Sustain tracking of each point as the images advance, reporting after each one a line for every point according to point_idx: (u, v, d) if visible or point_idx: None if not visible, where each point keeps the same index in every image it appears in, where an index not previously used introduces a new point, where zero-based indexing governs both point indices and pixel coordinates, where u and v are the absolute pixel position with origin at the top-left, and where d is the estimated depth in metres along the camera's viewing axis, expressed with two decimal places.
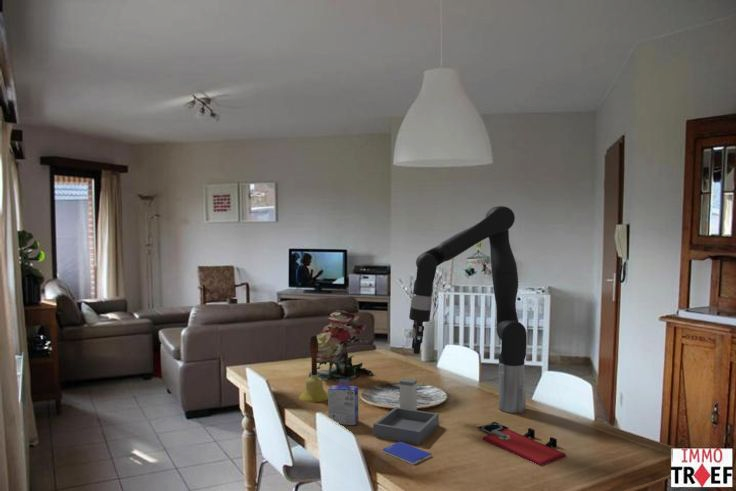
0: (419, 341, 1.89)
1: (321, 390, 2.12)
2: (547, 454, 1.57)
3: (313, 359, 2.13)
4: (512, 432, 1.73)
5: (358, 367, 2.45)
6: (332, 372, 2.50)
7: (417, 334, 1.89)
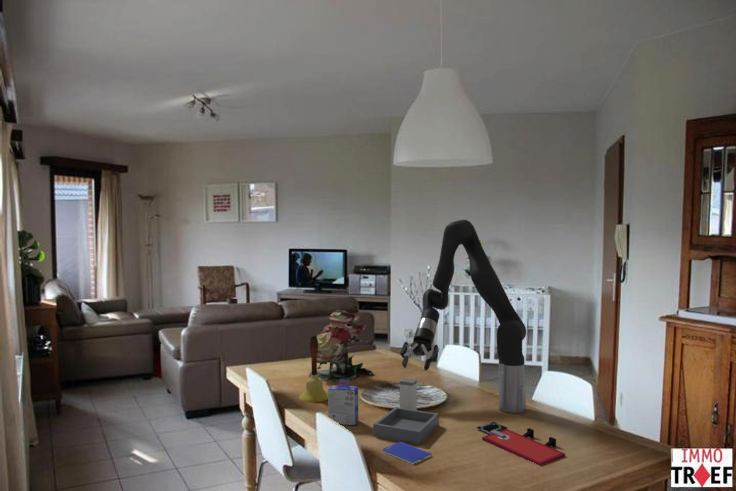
0: None
1: (321, 390, 2.12)
2: (547, 454, 1.57)
3: (313, 359, 2.13)
4: (511, 432, 1.73)
5: (358, 367, 2.45)
6: (332, 372, 2.50)
7: None
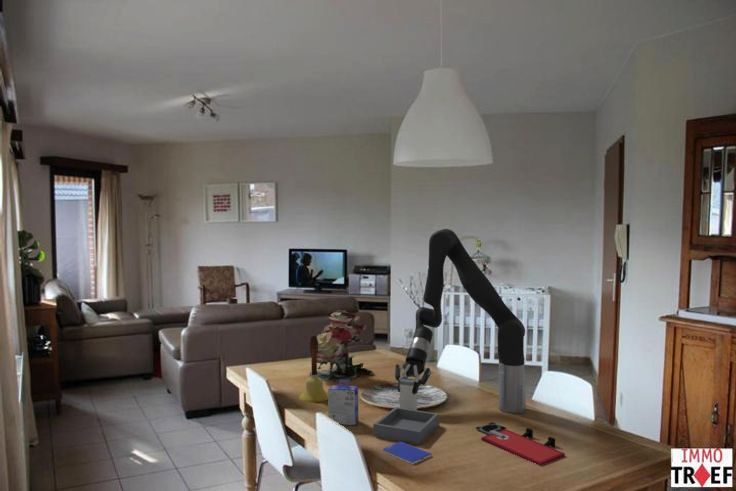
0: None
1: (321, 390, 2.12)
2: (546, 454, 1.57)
3: (313, 359, 2.13)
4: (510, 432, 1.73)
5: (359, 367, 2.45)
6: (333, 372, 2.50)
7: None
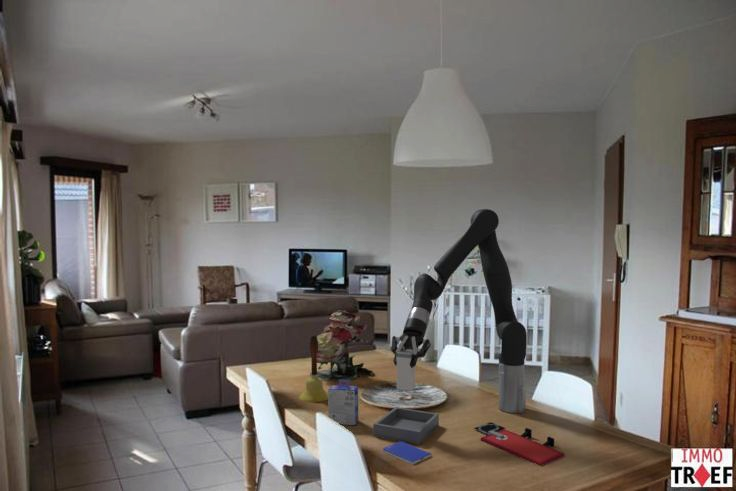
0: None
1: (321, 390, 2.12)
2: (546, 454, 1.57)
3: (313, 359, 2.13)
4: (509, 432, 1.73)
5: (359, 367, 2.45)
6: (333, 372, 2.50)
7: None
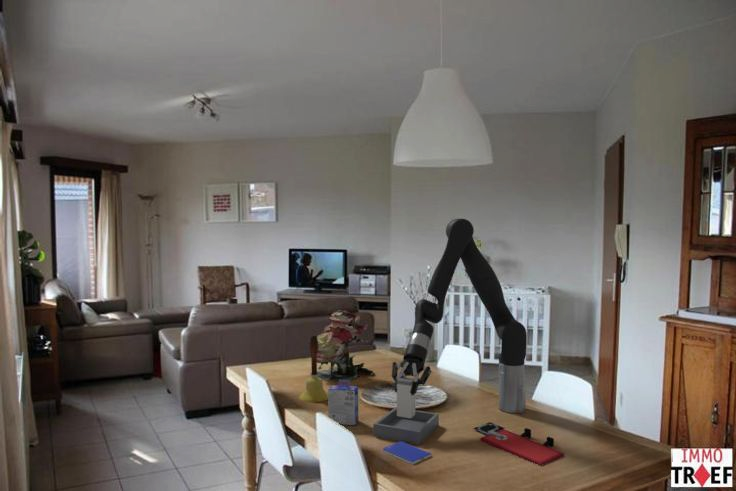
0: None
1: (321, 390, 2.12)
2: (546, 454, 1.57)
3: (313, 359, 2.13)
4: (508, 432, 1.73)
5: (359, 367, 2.45)
6: (333, 372, 2.50)
7: None
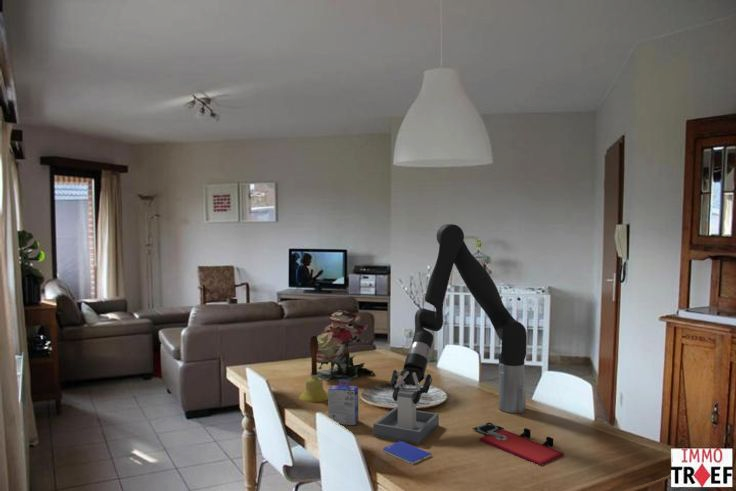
0: None
1: (321, 390, 2.12)
2: (545, 454, 1.57)
3: (313, 359, 2.13)
4: (508, 432, 1.73)
5: (360, 367, 2.45)
6: (333, 372, 2.50)
7: None
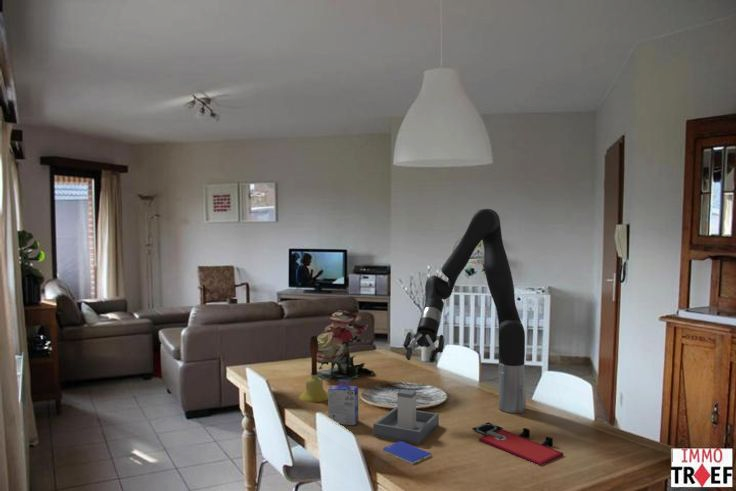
0: None
1: (321, 390, 2.12)
2: (545, 454, 1.57)
3: (313, 359, 2.13)
4: (507, 432, 1.73)
5: (360, 367, 2.45)
6: (334, 372, 2.50)
7: None
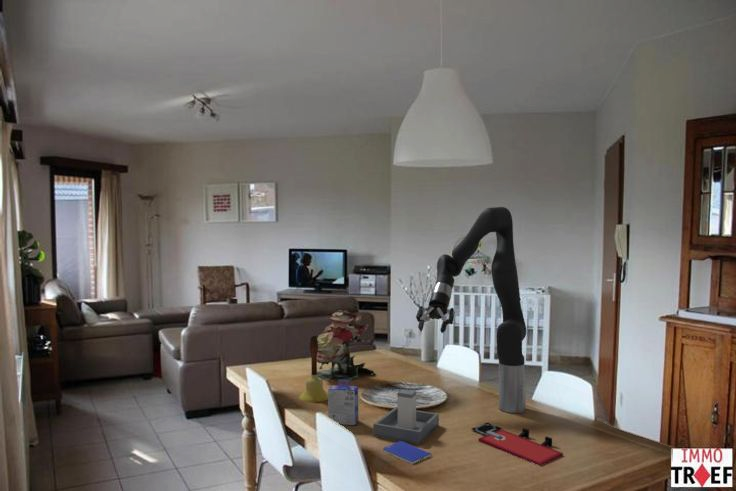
0: None
1: (321, 390, 2.12)
2: (545, 454, 1.57)
3: (313, 359, 2.13)
4: (506, 432, 1.73)
5: (360, 367, 2.45)
6: (334, 372, 2.50)
7: None
